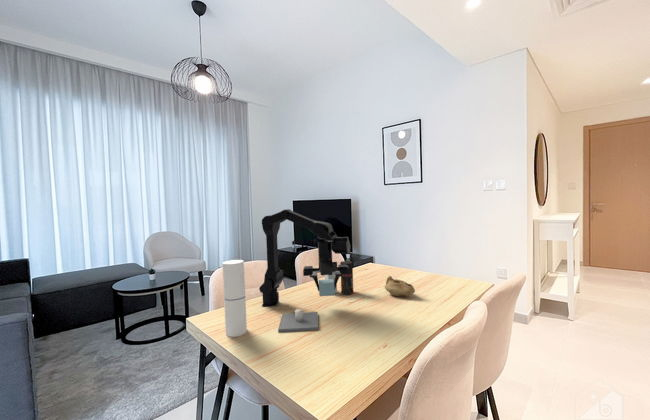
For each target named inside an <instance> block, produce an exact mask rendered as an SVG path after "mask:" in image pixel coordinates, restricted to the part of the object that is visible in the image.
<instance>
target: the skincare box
mask: <svg viewBox="0 0 650 420" xmlns="http://www.w3.org/2000/svg"><path fill="white" fill-rule="evenodd" d="M334 274H335V272H333V274H332V275H323V277H324V280H327V279H333V280H334ZM337 286H338V285H336V288H335V295H336V294H337V293H338V287H337Z"/></svg>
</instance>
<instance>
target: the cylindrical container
mask: <svg viewBox="0 0 650 420" xmlns="http://www.w3.org/2000/svg"><path fill="white" fill-rule="evenodd" d="M221 265H222V279H223V280H222V281H223V282H222V283H223V285H222V286H223V303H224V322H225V323H224V324H225V326H224V328H225V336H227V337H231V338H233V337H234V338H235V337H240V336H243V335H244V334H246V333H247V331H248V329H247V328H248V326H247V325H248V324H247V306H246V305H247V304H246V303H247V302H246V281H245V280H246V279H245V261H244V260H243V259H230V260H225V261H223V262H221Z"/></svg>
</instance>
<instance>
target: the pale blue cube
mask: <svg viewBox="0 0 650 420" xmlns="http://www.w3.org/2000/svg"><path fill="white" fill-rule="evenodd" d="M318 283H319V291H318V292H319V293H318V296H319V297H329V296H330V297H331V296H333V297H334V296H335V295H336V294H335V290H334V280H333V279H327V280H325V279H318Z"/></svg>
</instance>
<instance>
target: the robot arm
mask: <svg viewBox="0 0 650 420" xmlns="http://www.w3.org/2000/svg"><path fill="white" fill-rule="evenodd" d="M285 221H290V222H292V223H294V224H296V225H299V226H302V227H304V228H306V229H308V230H309V231H310V232H311V233H313V234H314V235H315V236H316V237H315V238H314V240H313V241H312V243H314V244H317V247H318V248H317V251H318V252H317V254H318V267H314V266H313V265H305V266H304V267H303V270H302V274H303V276H304V277H309V278H312V280H313V281H314V283H315V285H316V289H317V291H318V292H319V277H318V273H320V276H324V275H332V274H333V272H335V274H334V290H335V288H336V285H337V284H338V282H339V280H340V278H341V276H343V274H349V268H348V266H347V265H346V264H344V265H340V264H338V262H337V261H333V253H334V255H335V254H336V255H337V254H340V255H341V254H342V255H350V254H351V253H350V252H351V243H350V240H349V237H348V236H343V237H341V236H338V235H337V233H336V232H335V231H334V228H333V226H332V224H331V223H330V222H325V221H322V220H321V221H320V220H314V219H311V218H309V217H307V216H305V215H302V214H300V213H298V212H295V211H293V210H291V209H282V210H281V211H279V212H276V213H274V214H272V215H271V214H270V215H265V216H263V218H262V219H261V226H262V231H263V233H264V234H265V240H266V241H265V243H266V266H267V267H266V271H265V273H264V277H263V280H264V281H263V283H262V284H261V285H260V286H259V288H258V289H259V292H260V293H262V304H261V306H262V307H270V306H272V307H274V306H275V307H276V306H278V303H279V302H280V293H279V291H278V289H279V287H280V285H281V284H282V283H283V280H284V270H283V269H280V267H279V254H278V253H279V250H278V246H279V245H278V234H279V231H280V228H281V227H280V226H281V224H282V223H283V222H285ZM337 286H338V285H337Z"/></svg>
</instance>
